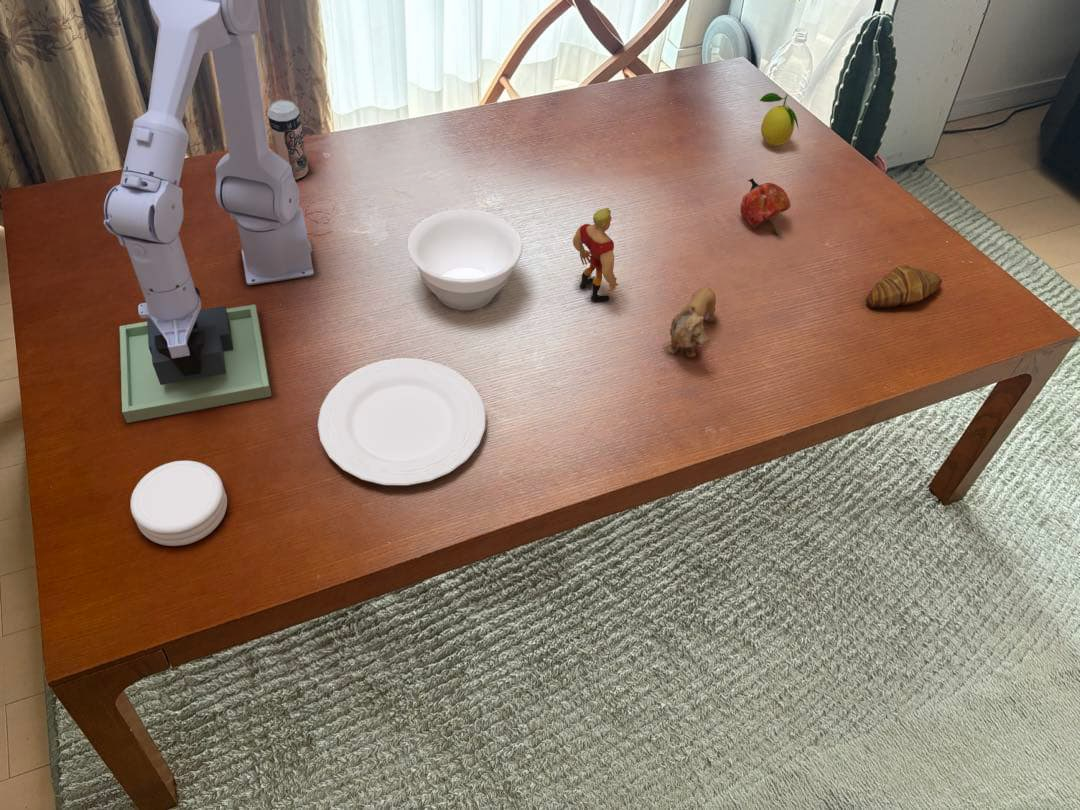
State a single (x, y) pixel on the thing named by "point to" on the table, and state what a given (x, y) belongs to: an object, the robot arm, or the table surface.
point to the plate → (401, 422)
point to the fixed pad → (205, 319)
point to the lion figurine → (692, 322)
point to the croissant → (903, 287)
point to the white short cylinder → (179, 503)
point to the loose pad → (209, 359)
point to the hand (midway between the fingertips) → (190, 357)
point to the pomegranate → (763, 203)
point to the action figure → (597, 253)
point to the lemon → (777, 121)
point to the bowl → (464, 255)
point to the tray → (157, 400)
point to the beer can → (288, 135)
